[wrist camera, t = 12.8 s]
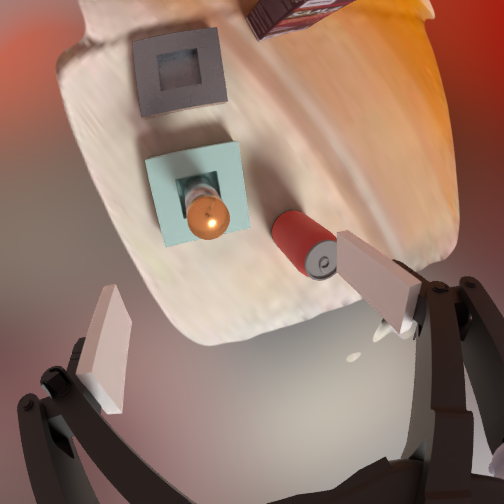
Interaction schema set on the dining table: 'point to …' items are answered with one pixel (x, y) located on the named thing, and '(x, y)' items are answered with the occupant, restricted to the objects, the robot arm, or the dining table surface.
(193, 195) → the pin
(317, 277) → the beer can
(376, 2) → the dining table surface
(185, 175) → the socket block
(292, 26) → the supplement box
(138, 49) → the mount
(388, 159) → the dining table surface
